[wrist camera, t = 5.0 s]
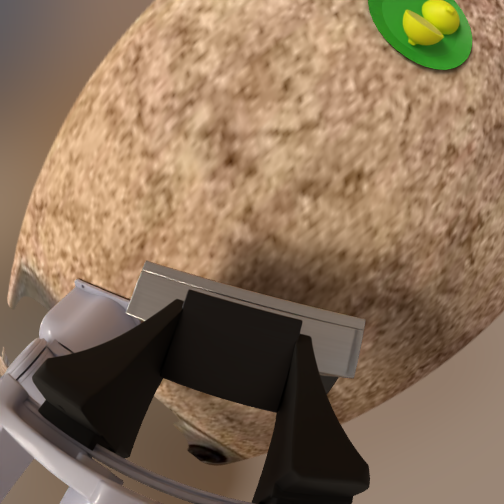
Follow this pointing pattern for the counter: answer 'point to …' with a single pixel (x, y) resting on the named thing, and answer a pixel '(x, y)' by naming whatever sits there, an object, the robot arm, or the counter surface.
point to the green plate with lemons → (424, 30)
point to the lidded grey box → (241, 336)
